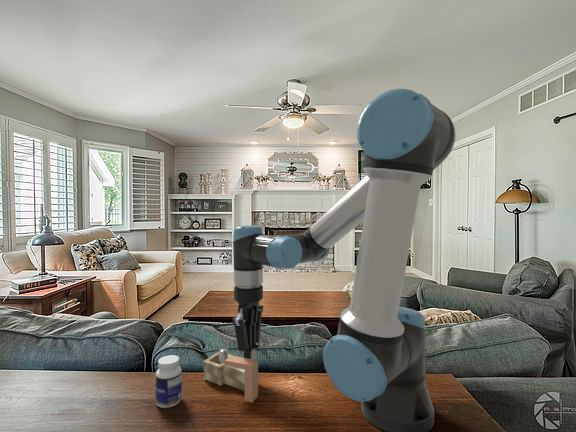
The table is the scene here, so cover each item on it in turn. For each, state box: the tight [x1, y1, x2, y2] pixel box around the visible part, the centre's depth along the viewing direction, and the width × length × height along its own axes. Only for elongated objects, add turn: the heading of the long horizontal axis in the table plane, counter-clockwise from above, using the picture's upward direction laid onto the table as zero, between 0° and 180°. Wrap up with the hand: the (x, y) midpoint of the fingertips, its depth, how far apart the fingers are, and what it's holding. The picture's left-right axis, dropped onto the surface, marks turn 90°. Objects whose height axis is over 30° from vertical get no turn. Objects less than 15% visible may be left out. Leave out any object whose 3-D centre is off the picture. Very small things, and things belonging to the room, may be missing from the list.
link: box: [202, 350, 245, 392], centre depth 85 cm, size 14×6×5 cm, turn 58°
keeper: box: [224, 355, 259, 404], centre depth 78 cm, size 8×3×9 cm, turn 69°
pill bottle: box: [155, 354, 183, 409], centre depth 76 cm, size 6×6×10 cm
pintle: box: [218, 347, 229, 364], centre depth 87 cm, size 2×2×8 cm
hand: (249, 373), depth 85 cm, fingers closed
